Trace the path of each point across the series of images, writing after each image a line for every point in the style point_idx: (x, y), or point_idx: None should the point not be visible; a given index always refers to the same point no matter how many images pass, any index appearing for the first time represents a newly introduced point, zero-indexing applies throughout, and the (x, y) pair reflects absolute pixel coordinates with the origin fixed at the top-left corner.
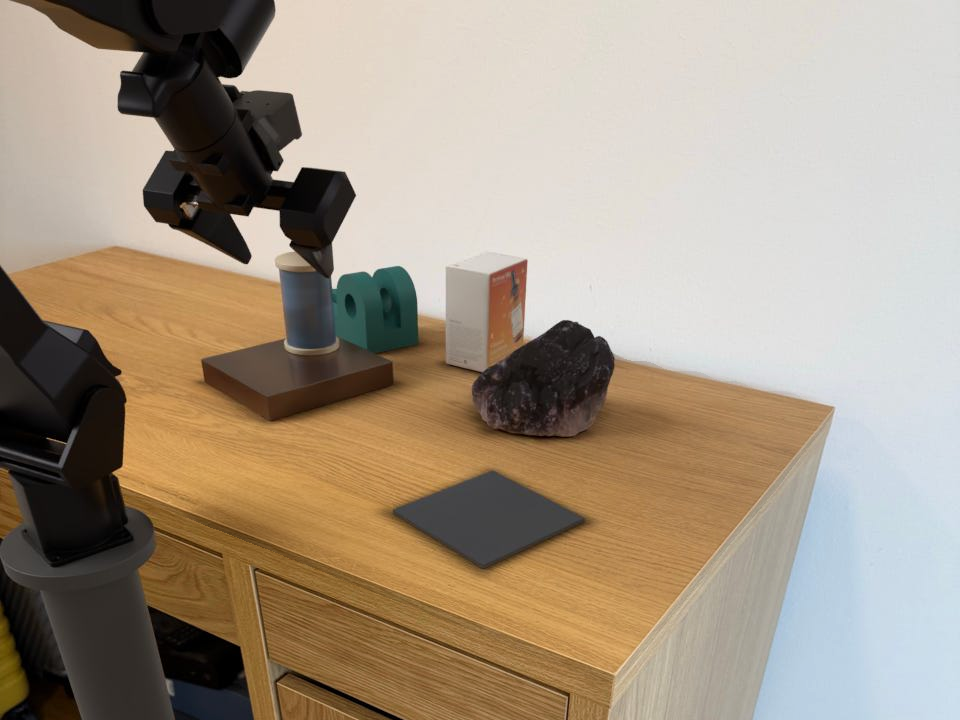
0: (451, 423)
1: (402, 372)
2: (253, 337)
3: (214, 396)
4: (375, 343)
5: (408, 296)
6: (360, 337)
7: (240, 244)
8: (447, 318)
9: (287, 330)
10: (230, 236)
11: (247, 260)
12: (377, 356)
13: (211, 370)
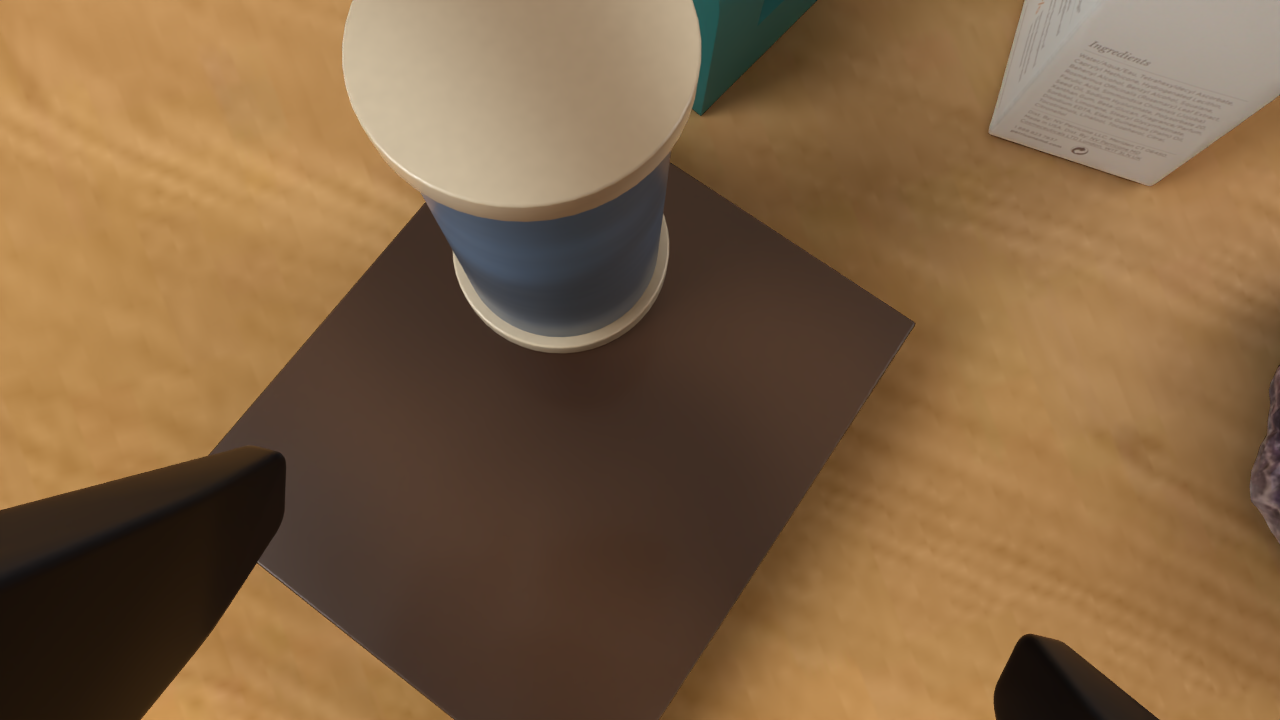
0: (1199, 622)
1: (871, 233)
2: (251, 54)
3: (305, 618)
4: (726, 73)
5: None
6: None
7: (175, 573)
8: (1084, 37)
9: (480, 291)
10: (48, 695)
11: (272, 514)
12: (842, 289)
13: None
